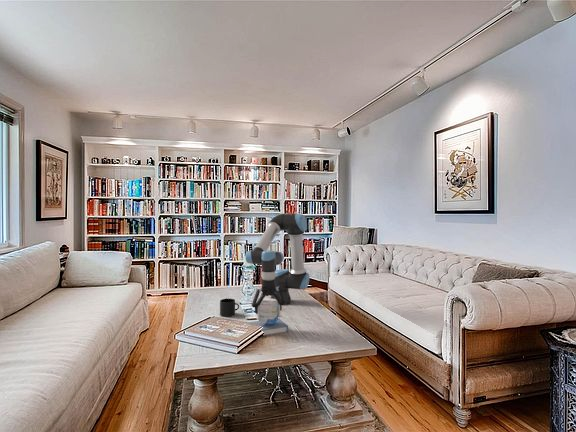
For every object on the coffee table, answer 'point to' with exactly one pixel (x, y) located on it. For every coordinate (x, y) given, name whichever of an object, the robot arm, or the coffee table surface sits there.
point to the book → (272, 327)
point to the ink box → (268, 311)
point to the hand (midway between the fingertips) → (268, 317)
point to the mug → (227, 307)
